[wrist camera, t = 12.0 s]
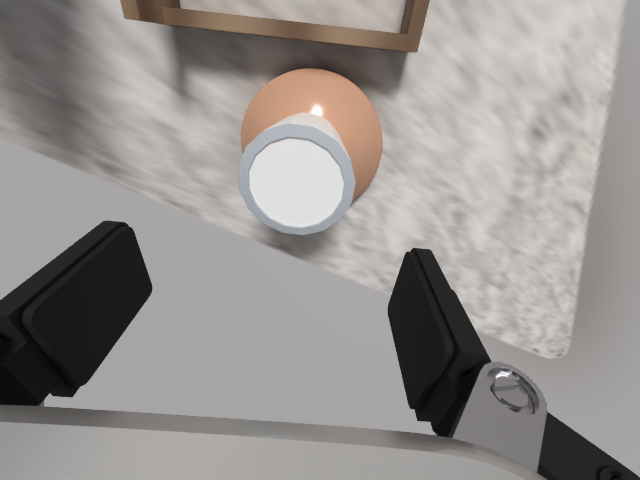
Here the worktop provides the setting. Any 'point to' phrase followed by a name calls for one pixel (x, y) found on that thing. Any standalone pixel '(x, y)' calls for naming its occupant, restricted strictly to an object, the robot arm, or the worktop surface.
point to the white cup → (297, 175)
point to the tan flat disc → (321, 114)
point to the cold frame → (283, 25)
